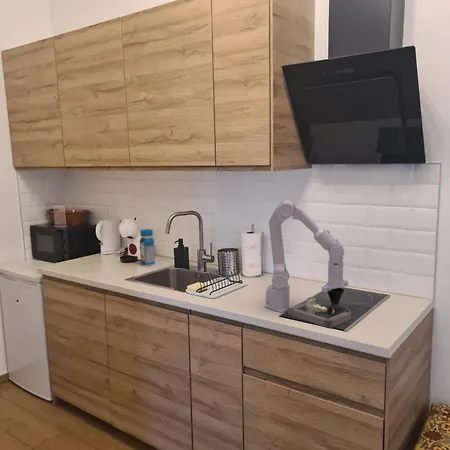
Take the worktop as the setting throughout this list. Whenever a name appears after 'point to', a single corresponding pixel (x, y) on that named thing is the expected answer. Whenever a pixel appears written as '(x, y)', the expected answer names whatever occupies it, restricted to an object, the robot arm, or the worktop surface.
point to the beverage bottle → (147, 248)
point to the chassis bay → (333, 321)
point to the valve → (312, 307)
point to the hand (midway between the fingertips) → (334, 306)
